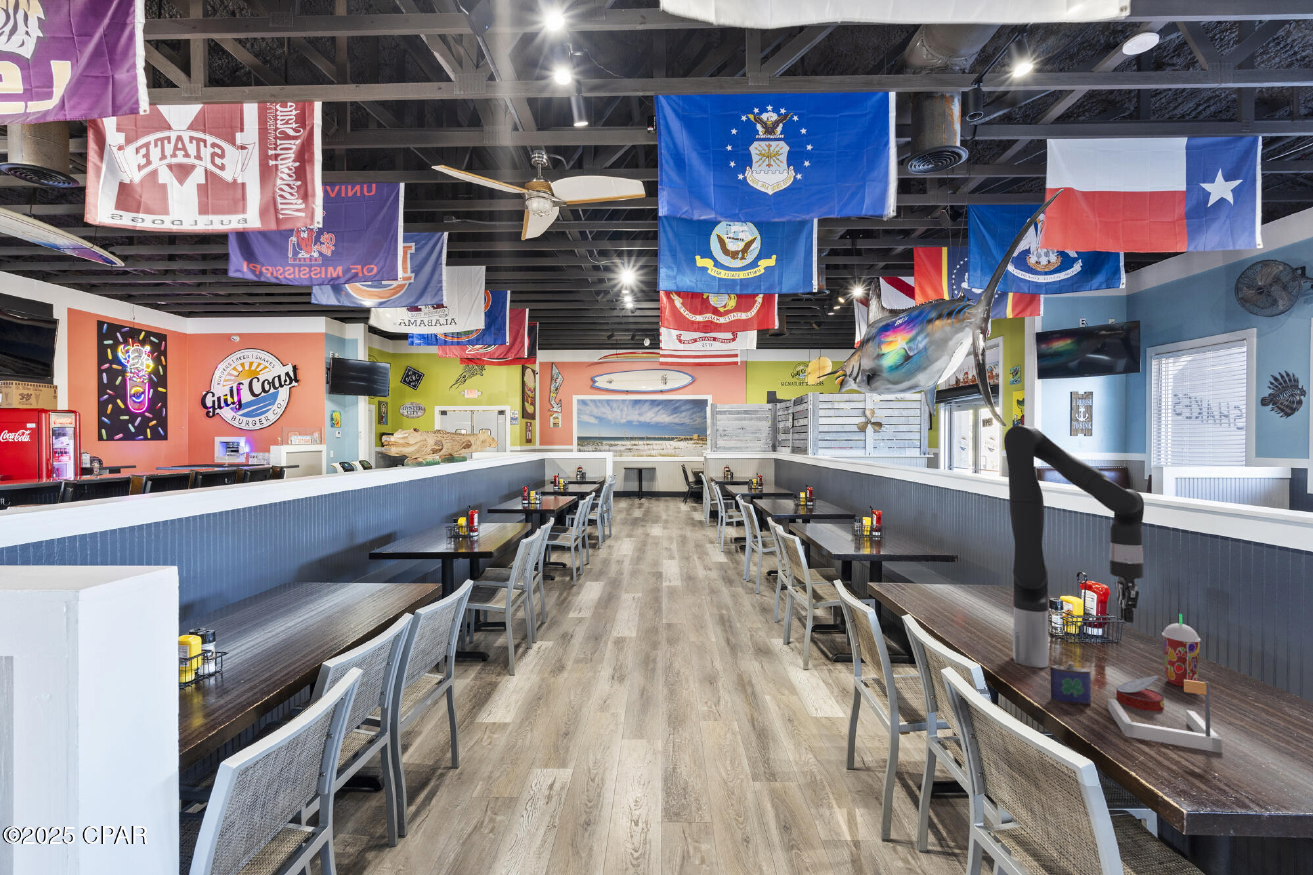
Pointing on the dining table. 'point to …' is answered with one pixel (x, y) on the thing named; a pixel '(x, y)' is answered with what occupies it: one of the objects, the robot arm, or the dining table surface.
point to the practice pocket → (1197, 739)
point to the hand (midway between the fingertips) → (1126, 620)
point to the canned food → (1140, 695)
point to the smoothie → (1181, 653)
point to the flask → (1070, 685)
